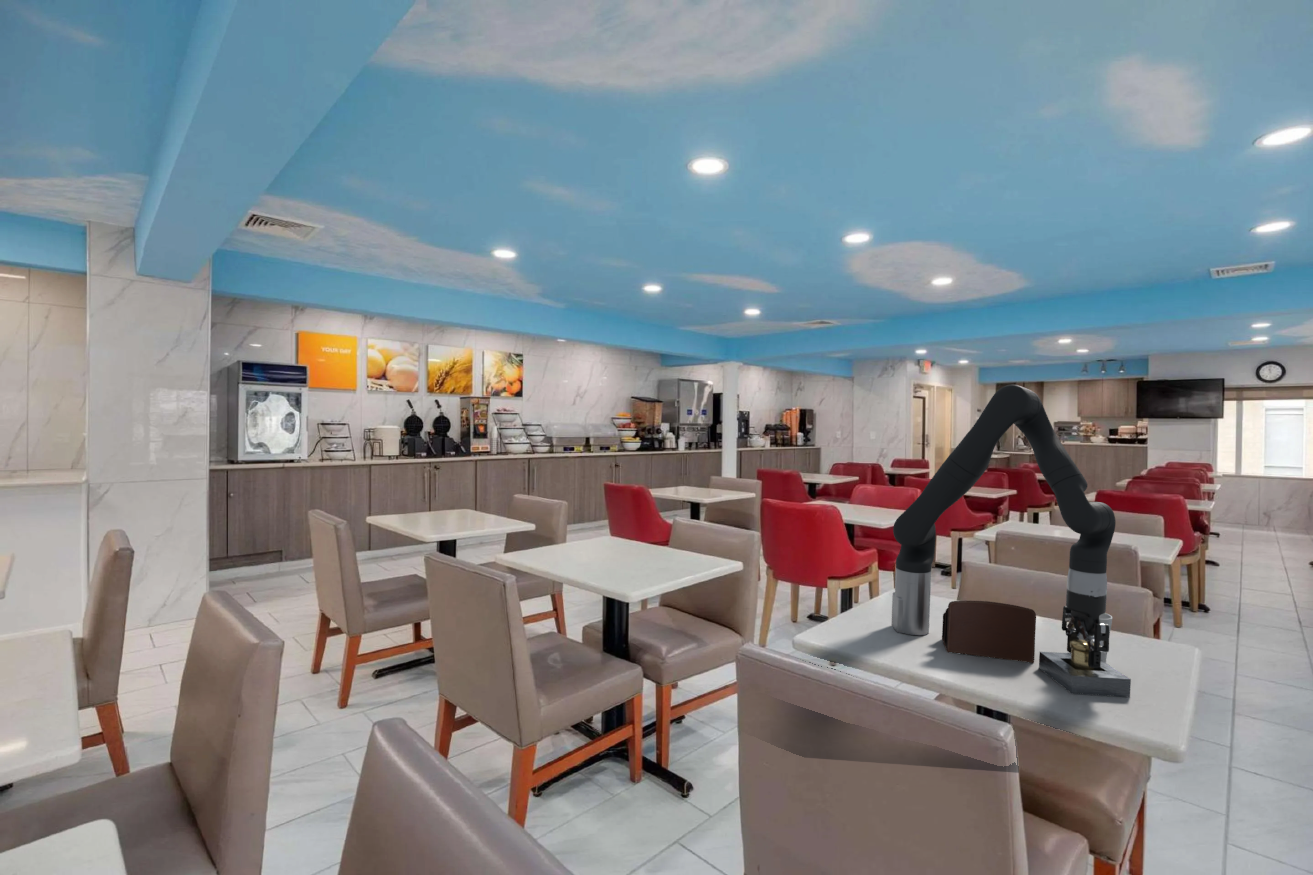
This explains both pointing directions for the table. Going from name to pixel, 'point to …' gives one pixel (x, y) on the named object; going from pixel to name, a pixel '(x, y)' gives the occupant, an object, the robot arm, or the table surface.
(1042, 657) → the grey hollow block
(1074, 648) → the fitting
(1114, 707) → the table surface
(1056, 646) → the table surface
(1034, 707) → the table surface
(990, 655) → the letter holder
